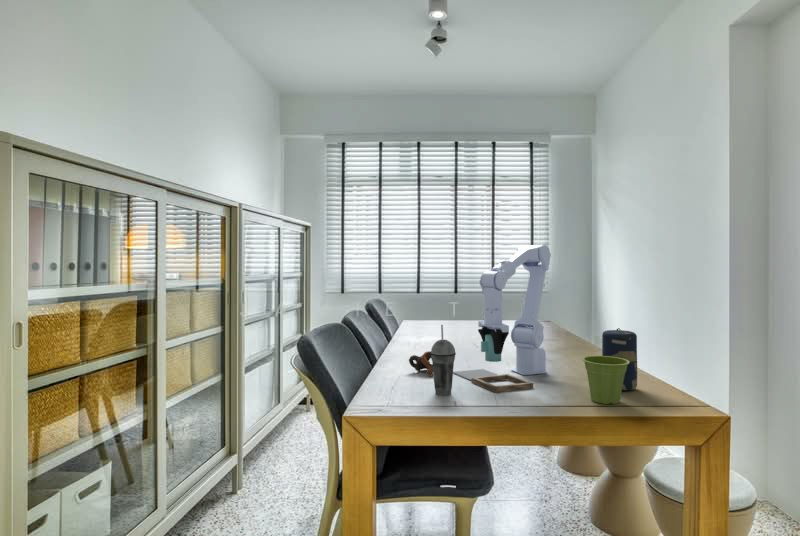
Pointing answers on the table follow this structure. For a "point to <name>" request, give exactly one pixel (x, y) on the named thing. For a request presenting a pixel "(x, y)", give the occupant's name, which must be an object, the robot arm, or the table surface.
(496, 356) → the teal jug
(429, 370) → the brown looped knot
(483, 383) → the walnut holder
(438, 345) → the beverage cup
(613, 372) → the plant pot
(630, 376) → the canister
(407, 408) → the table surface
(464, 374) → the gray mat
